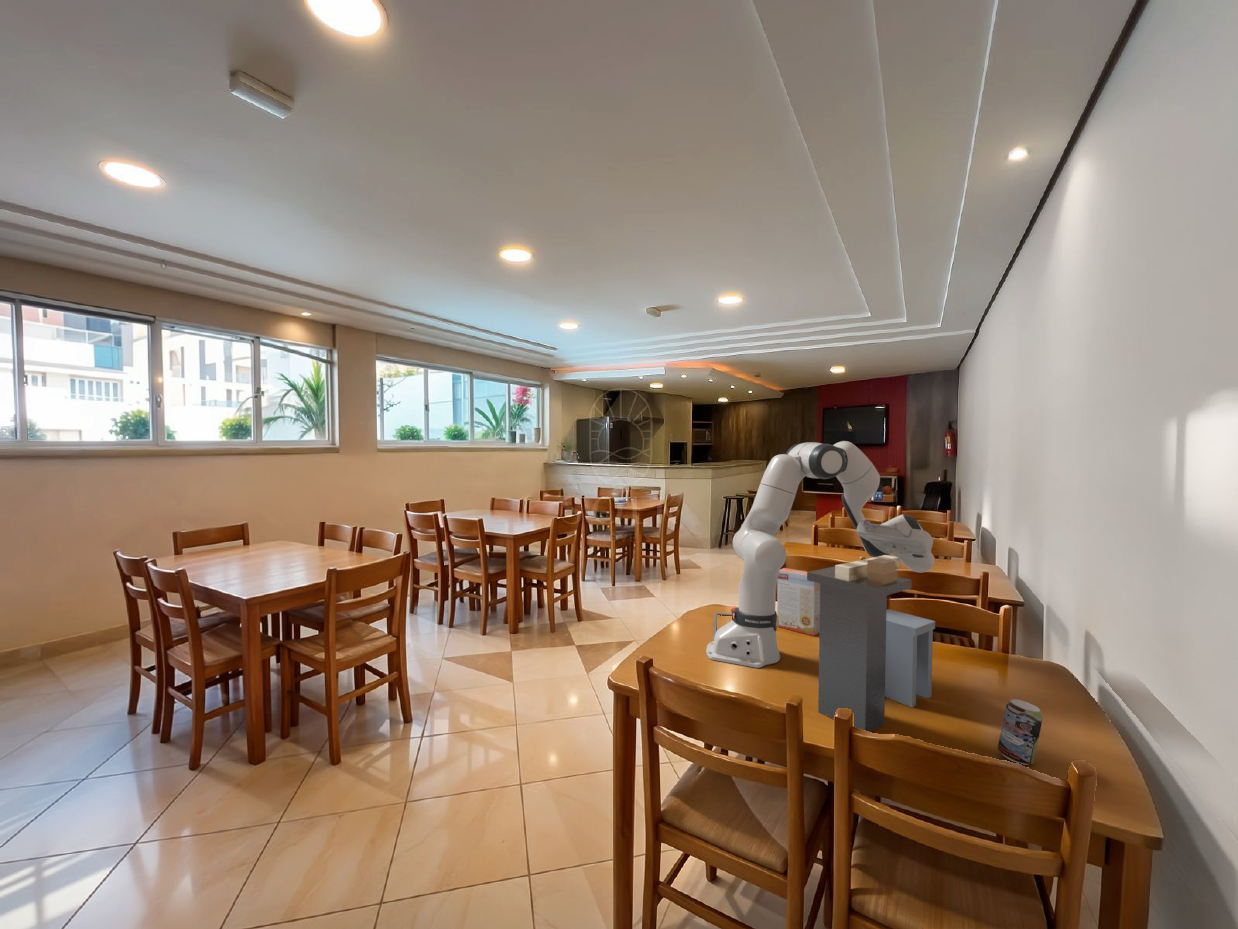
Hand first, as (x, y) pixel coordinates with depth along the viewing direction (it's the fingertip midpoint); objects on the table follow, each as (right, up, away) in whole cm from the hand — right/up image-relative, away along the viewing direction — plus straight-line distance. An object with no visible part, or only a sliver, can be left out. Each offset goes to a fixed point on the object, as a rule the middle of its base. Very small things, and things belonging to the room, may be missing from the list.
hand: (880, 524), depth 150 cm
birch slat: (-15, -9, -24) cm, 30 cm away
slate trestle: (-2, -43, -14) cm, 45 cm away
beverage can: (+7, -44, -43) cm, 62 cm away
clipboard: (-32, -42, +36) cm, 64 cm away
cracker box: (-12, -42, +34) cm, 55 cm away
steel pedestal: (-19, -43, -26) cm, 54 cm away
